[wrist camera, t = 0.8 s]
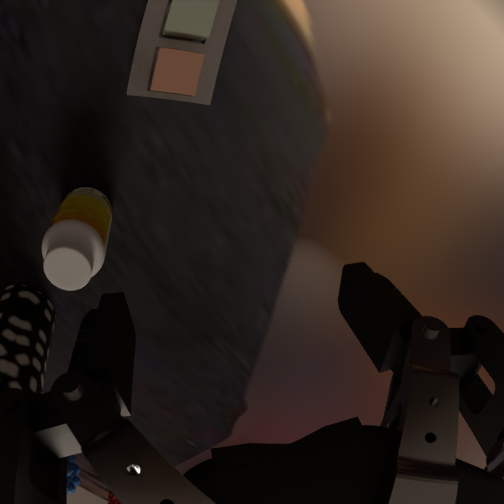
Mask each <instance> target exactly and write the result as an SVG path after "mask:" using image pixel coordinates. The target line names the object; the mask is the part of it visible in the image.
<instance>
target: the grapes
mask: <svg viewBox="0 0 504 504" xmlns="http://www.w3.org/2000/svg"><path fill="white" fill-rule="evenodd" d="M75 461H76V457H75V456H74V455H70V456H68V458H67V493H68V494H73V493H74V492H75V490H76V487H77V486H78V485H79V484H80V479H79V478H78V477H77V476H76V475H78V474H79V472H80V468H79V466H78V465H76V464H74V463H75Z"/></svg>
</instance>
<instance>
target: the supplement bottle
mask: <svg viewBox="0 0 504 504" xmlns="http://www.w3.org/2000/svg"><path fill="white" fill-rule="evenodd" d="M111 220H112V208H111V205H110V202H109V200H108V199H107V197H106V196H105V195H104V194H103V193H101V192H100V191H98V190H96V189H94V188H90V187H81V188H77V189H75V190H73V191H71V192H70V193H69V194H68V195H67V196H66V197H65V198H64V200H63V201H62V203H61V205H60V207H59V209H58V210H57V212H56V214H55V216H54V218H53V220H52V222H51V224H50V226H49V228H48V230H47V232H46V233H45V236H44V238H43V242H42V255H43V258H44V272H45V274H46V276H47V278H48V279H49V281H50V282H51V283H52V284H54V285H55V286H57V287H58V288H61V289H64V290H77V289H80V288H82V287H84V286H85V285H86V284H87V283H88V282H89V280H90V278H91V277H92V276H94V275H95V274H96V273H97V272H98V271H99V270H100V268H101V267H102V264H103V262H104V258H105V253H106V247H107V242H108V236H109V231H110V226H111Z"/></svg>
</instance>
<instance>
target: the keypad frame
mask: <svg viewBox="0 0 504 504" xmlns="http://www.w3.org/2000/svg"><path fill="white" fill-rule="evenodd" d="M171 3H172V0H148V3H147V7H146V10H145V14H144V18H143V21H142V25H141V29H140V33H139V37H138V41H137V45H136V50H135V54H134V59H133V63H132V68H131V73H130V78H129V83H128V89H127V94H126V95H134V96H145V97H154V98H163V99H171V100H179V101H186V102H193V103H200V104H206V105H210V103H211V98H212V94H213V90H214V86H215V81H216V77H217V73H218V69H219V65H220V61H221V57H222V54H223V50H224V46H225V42H226V38H227V35H228V31H229V27H230V24H231V20H232V17H233V13H234V10H235V6H236V3H237V0H219V4H218V7H217V11H216V14H215V18H214V21H213V25H212V28H211V32H210V36H209V37H207V38H205V39H204V40H202V41H200V40H194V39H188V38H181V37H174V36H167V35H163V33H164V29H165V25H166V21H167V18H168V14H169V10H170V7H171ZM160 47H161V48H169V49H176V50H183V51H189V52H195V53H201V54H205V55H204V59H203V63H202V67H201V71H200V75H199V80H198V84H197V88H196V93H195V96H191V95H185V94H177V93H170V92H161V91H153V90H151V85H152V80H153V75H154V71H155V66H156V62H157V57H158V53H159V49H160Z"/></svg>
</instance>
